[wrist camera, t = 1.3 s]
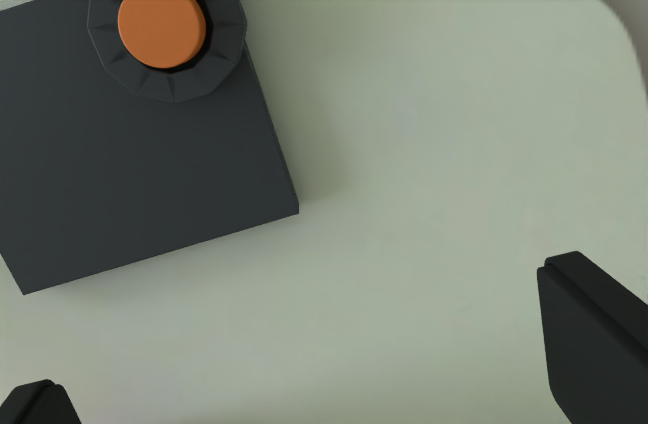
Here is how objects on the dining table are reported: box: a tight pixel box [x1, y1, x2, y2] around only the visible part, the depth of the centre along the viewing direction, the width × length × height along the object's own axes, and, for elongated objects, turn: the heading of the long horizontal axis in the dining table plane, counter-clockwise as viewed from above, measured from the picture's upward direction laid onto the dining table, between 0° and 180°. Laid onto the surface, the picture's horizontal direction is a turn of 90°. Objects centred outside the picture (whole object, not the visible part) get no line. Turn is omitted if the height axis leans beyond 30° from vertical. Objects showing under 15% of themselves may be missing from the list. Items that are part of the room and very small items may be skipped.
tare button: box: [118, 0, 206, 68], centre depth 21 cm, size 3×3×2 cm
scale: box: [0, 0, 299, 295], centre depth 24 cm, size 14×12×3 cm
